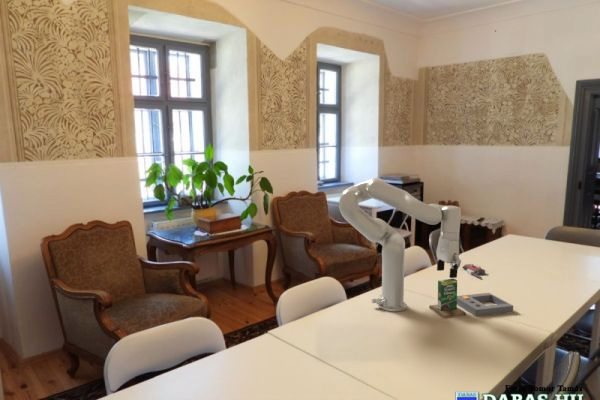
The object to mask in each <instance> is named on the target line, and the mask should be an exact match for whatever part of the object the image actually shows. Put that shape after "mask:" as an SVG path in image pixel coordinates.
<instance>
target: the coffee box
mask: <svg viewBox="0 0 600 400" xmlns="http://www.w3.org/2000/svg"><path fill="white" fill-rule="evenodd" d="M457 296H458V280H457V279H456V278H448V279H438V281H437V305H438V309H439V310H441V311H443V310H451V309H457V307H458V305H457Z"/></svg>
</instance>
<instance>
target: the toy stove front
mask: <svg viewBox="0 0 600 400" xmlns="http://www.w3.org/2000/svg"><path fill="white" fill-rule="evenodd" d="M487 302H492V303H493V304H492V305H486V304H484V303H487ZM457 306H459V308H462V309H463V310H465V312H466V311H467V312H468V313H470V314H471V315H473V316H474V317H485V316H494V315H503V314H511V313H514V305H513V304H511V303H509V302H507V301H506V300H504V299H502V298H500V297H498V296H496V295H494V294H492V293H490V292H483V293H473V294H465V295H464V294H463V295H457Z"/></svg>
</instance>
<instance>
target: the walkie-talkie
mask: <svg viewBox="0 0 600 400" xmlns="http://www.w3.org/2000/svg"><path fill="white" fill-rule="evenodd" d="M461 267H462V269H463V270H464V271H466V274H468V275H470V276H475V277H477V278H479V279H480V280H481V279H483V278H482V276H483V275H486V270H485V269H484V268H482V266H479V264H474V263H467V264H464V266H461ZM481 275H482V276H481Z"/></svg>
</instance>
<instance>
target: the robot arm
mask: <svg viewBox="0 0 600 400" xmlns="http://www.w3.org/2000/svg"><path fill="white" fill-rule="evenodd" d="M371 199H373V200H376V201H378V202H380V203H383V204H385V205H388V206H390V207H392V208H395V209H396V210H398V211H400V212H402V213H403V214H406V215H408V216H410V217H411V218H413V219H416V220H418V221H419V222H423V223H425V224H428V225H432V226H433V225H437V224H440V223H441V224H440V233H439V235H440V236H439V238H438V241H437V242H438V243H437V247H436V249H435V253H436V261H437V262H436V263H437V264H436V270H437V271H440V272H442V271H445V263H446V264H449V266H450V268H449V275H448V276H449V279H456V278H458V270H459V268H460V266H461V263H462V260H461V259H460V242H459V241H460V228H461V220H462V219H461V218H462V217H461V215H462V209H461V207H459V206H458V205H457V206H456V205H443V204H437V203H429V204H427V203H425V202H423V201H421V200H419V199H417V198H415V197H414V196H413V195H411V194H410V193H409V192H408V191H406V190H404V189H402V188H399V187H397V186H396V185H395V186H394V185H392V184H390V183H388V182H386V181H385V180H384V179H382V178H380V177H374V178H371V179H369V180H366V181H364V182H363V181H362V182H360V183H358V184H355V185H352V186H349V187H347V188H346V189H345V190H343V192H342V193H341V194H340V197H339V201H338V202H339V203H338V208H339V213H340V215H341V216H342V217H343V218H344V220H345V221H346V222H348V224H350V225H351V226H352V227H353V228H354V229H355V230H357V231H358V232H359V234H361V235H362V236H363V237H365V238H366V239H367V240H368V241H370V242H371V243H378V244H380V245H381V246H382V248H381V259H382V260H381V295H379V297H377V298H372V299H371V304H376V305H378V307H379V308H380V309H382V310H384V311H387V312H402V311H405V310H406V309H407V307H408V303H407V302H405V301H404V298H405V296H404V295H405V294H404V293H405V289H404V288H405V254H406V253H405V252H406V242H405V238H404V237H403V235H401V234H400V233H399V232H398V231H397V230H396V229H394V228H393V227H392V226H391V225H390V224H388V223H387V222H386V221H385V220H383V219H381V218H379V217H375V218H374V217H372V216H371V215H370V214H368V213H367V212H366V211H365V210H363V209H362V208H361V207H360V205H359V204H360V203H363V202H365V201H368V200H371Z"/></svg>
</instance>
